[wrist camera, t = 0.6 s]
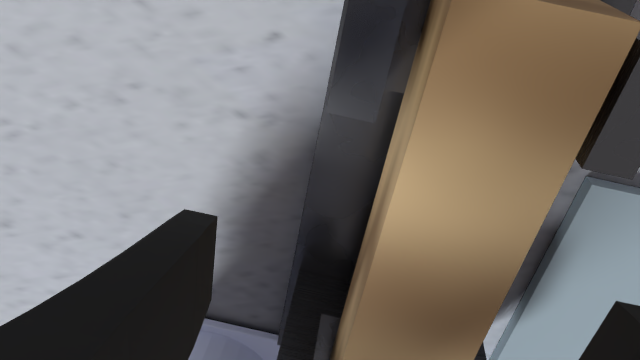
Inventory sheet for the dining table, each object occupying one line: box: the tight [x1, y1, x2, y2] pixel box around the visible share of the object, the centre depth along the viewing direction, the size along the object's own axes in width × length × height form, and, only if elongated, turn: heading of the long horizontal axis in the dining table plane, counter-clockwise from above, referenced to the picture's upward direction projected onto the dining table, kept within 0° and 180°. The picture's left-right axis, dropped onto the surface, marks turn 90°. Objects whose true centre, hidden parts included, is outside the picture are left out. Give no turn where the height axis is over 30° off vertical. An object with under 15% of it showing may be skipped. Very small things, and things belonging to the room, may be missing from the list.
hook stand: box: [277, 0, 640, 360], centre depth 16 cm, size 18×8×5 cm, turn 170°
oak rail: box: [329, 0, 640, 360], centre depth 15 cm, size 16×4×4 cm, turn 170°
